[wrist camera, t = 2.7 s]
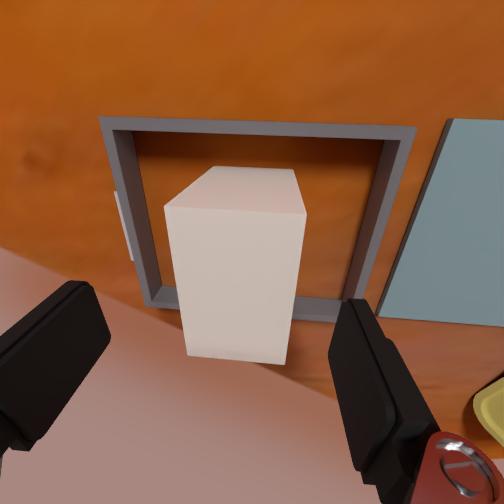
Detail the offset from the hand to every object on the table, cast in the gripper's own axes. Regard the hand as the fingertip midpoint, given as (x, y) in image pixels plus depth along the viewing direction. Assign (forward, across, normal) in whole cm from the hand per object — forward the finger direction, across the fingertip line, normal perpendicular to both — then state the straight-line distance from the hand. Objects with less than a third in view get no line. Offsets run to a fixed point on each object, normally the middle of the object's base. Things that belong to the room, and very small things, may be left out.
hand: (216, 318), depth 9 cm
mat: (+9, -17, 0) cm, 19 cm away
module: (+9, -1, 0) cm, 9 cm away
